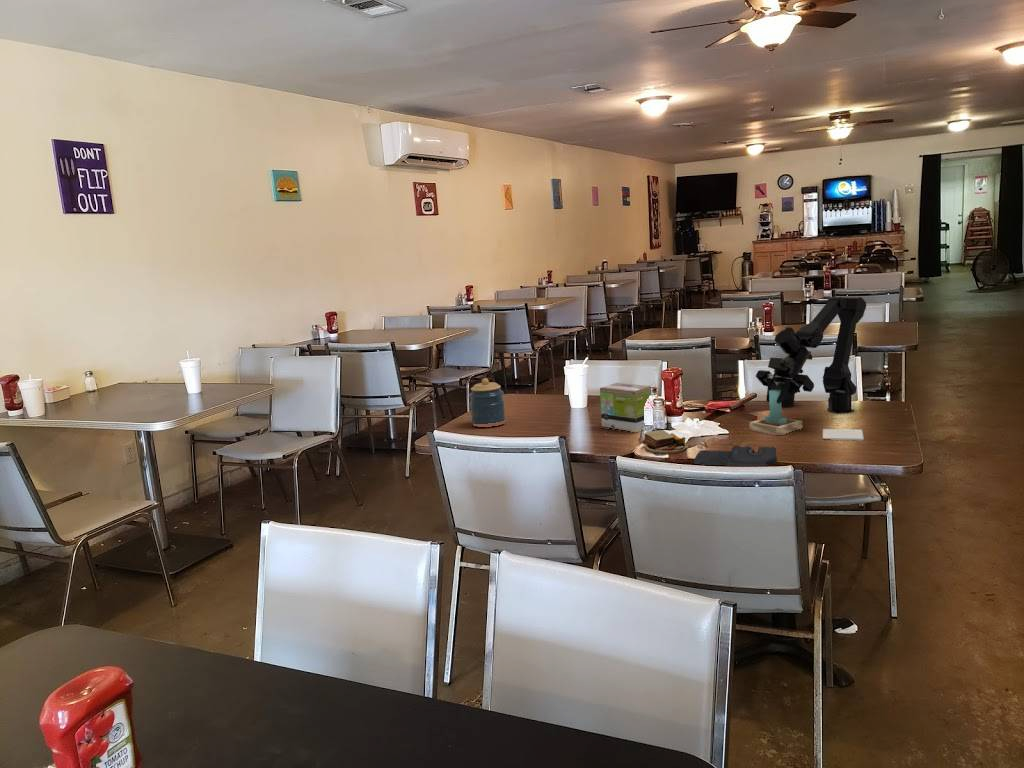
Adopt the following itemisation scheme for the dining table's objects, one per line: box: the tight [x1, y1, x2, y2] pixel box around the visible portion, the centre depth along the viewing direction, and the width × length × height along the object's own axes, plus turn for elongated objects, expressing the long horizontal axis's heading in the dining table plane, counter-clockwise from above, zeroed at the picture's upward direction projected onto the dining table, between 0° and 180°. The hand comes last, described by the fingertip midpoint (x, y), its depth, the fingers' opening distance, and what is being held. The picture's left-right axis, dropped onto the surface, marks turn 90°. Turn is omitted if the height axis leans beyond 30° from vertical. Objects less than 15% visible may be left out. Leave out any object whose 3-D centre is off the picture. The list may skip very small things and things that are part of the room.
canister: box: [468, 377, 507, 424], centre depth 279 cm, size 13×13×18 cm
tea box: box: [599, 382, 652, 431], centre depth 257 cm, size 15×10×15 cm, turn 45°
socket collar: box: [749, 417, 804, 436], centre depth 240 cm, size 11×11×2 cm
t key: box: [764, 390, 788, 424], centre depth 239 cm, size 4×7×10 cm, turn 33°
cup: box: [773, 372, 796, 408], centre depth 271 cm, size 8×8×12 cm
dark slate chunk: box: [693, 445, 778, 466], centre depth 208 cm, size 15×22×5 cm
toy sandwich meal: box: [642, 429, 688, 455], centre depth 228 cm, size 12×14×5 cm
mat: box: [822, 428, 865, 442], centre depth 227 cm, size 11×11×1 cm
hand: (772, 402), depth 238 cm, fingers closed on t key, 4 cm apart
